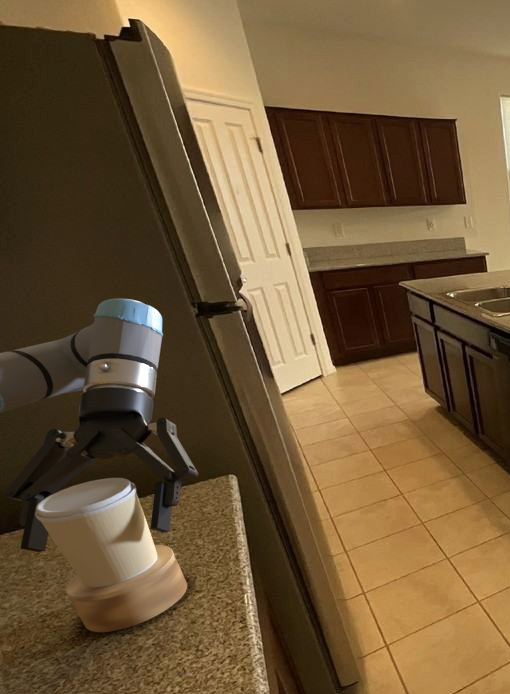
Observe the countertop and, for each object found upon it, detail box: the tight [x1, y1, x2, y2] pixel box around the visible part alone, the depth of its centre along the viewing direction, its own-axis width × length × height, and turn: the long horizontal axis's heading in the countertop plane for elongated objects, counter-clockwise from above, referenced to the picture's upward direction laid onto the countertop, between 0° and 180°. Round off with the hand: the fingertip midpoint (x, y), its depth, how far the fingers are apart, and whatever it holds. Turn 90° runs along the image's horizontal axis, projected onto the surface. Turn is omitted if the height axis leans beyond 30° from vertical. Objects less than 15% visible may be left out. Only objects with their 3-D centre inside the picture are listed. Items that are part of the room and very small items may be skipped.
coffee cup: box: [35, 477, 157, 587], centre depth 70 cm, size 9×9×12 cm
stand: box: [64, 544, 188, 633], centre depth 73 cm, size 11×11×6 cm
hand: (98, 540), depth 69 cm, fingers open, 13 cm apart
